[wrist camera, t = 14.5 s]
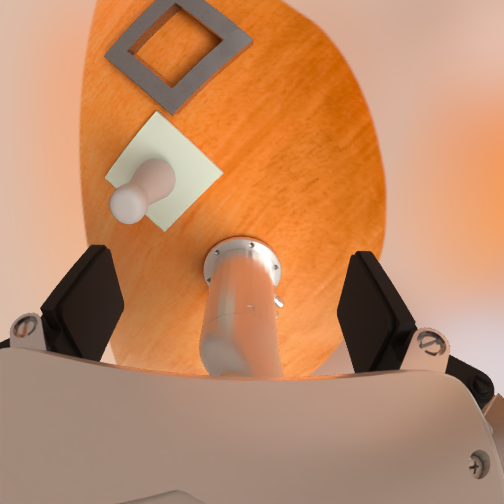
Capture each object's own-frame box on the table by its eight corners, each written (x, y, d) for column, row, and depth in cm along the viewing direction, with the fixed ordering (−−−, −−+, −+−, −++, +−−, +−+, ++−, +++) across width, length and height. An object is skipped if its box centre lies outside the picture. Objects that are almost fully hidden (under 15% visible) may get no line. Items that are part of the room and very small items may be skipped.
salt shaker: (173, 199, 39) (143, 241, 28) (137, 187, 38) (97, 224, 27) (184, 162, 37) (155, 191, 26) (147, 150, 36) (105, 174, 24)
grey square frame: (253, 44, 29) (253, 39, 27) (177, 114, 34) (172, 115, 31) (182, -11, 24) (177, -18, 21) (113, 58, 29) (103, 56, 26)
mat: (223, 171, 38) (223, 173, 38) (166, 229, 43) (164, 232, 42) (158, 110, 34) (156, 111, 33) (106, 176, 38) (104, 177, 37)
